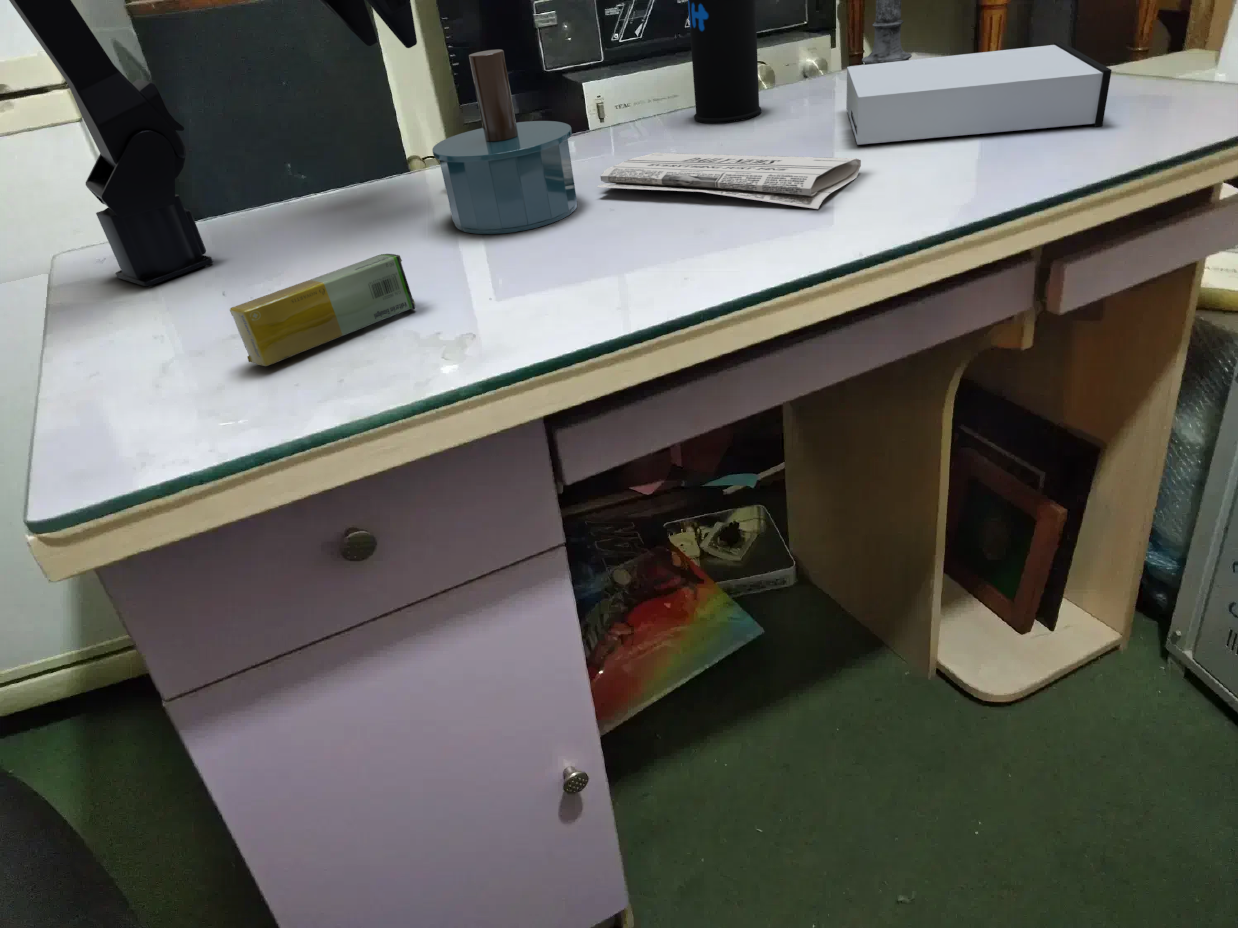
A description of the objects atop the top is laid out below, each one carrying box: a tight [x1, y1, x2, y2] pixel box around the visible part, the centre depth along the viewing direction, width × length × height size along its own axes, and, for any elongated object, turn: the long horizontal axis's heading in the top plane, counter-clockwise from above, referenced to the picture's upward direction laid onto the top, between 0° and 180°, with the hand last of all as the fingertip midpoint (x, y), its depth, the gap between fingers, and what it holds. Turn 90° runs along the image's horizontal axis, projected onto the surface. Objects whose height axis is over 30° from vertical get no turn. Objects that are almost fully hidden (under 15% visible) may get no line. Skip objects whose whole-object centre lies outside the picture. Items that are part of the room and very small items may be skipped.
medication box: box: [229, 253, 416, 367], centre depth 60 cm, size 12×3×4 cm, turn 135°
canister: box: [438, 139, 578, 235], centre depth 80 cm, size 12×12×6 cm
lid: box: [431, 49, 573, 162], centre depth 77 cm, size 13×13×8 cm
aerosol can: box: [687, 0, 762, 124], centre depth 102 cm, size 8×8×20 cm
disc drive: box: [845, 41, 1113, 146], centre depth 90 cm, size 18×22×5 cm
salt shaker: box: [861, 0, 913, 65], centre depth 106 cm, size 6×6×12 cm
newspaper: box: [597, 152, 862, 210], centre depth 81 cm, size 23×12×2 cm, turn 54°
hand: (391, 45), depth 85 cm, fingers open, 9 cm apart
